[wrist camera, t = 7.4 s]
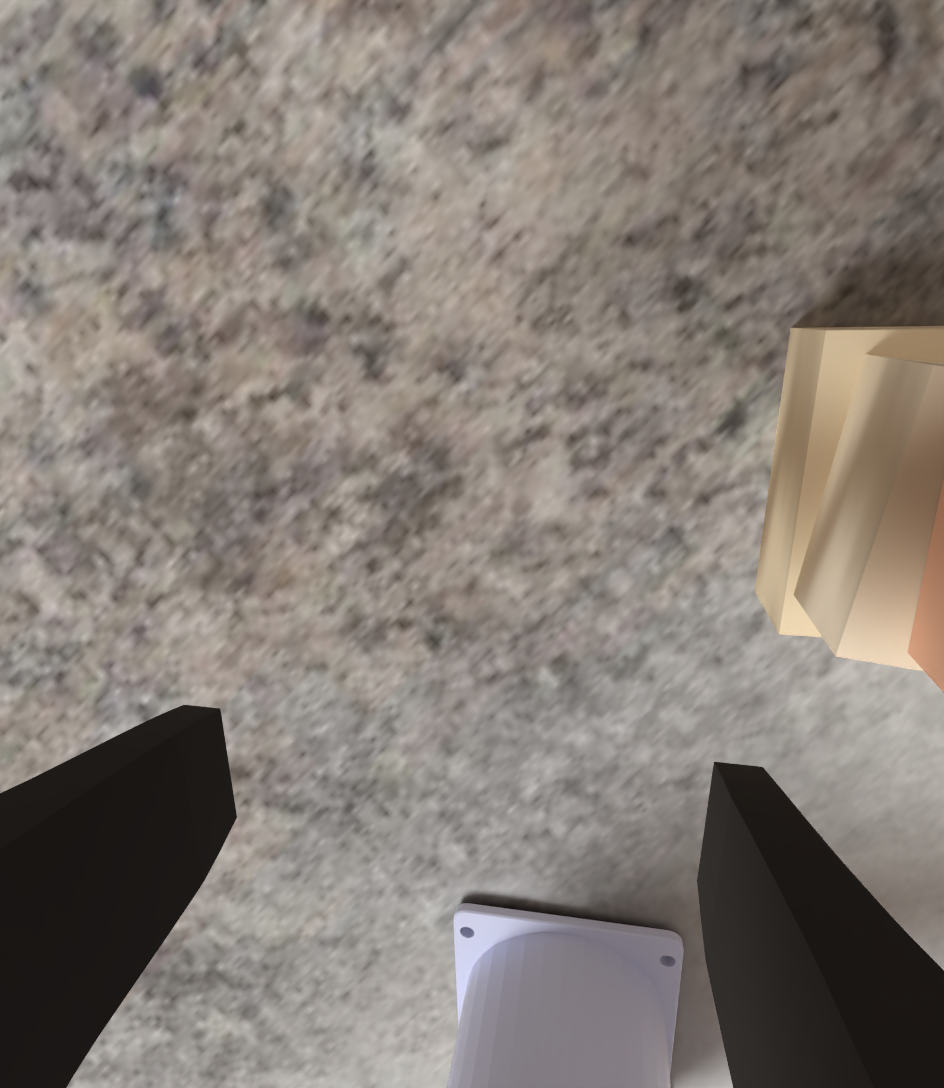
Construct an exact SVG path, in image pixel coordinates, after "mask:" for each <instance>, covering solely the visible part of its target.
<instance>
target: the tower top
mask: <svg viewBox="0 0 944 1088" xmlns="http://www.w3.org/2000/svg"><path fill="white" fill-rule="evenodd" d="M943 477H944V363H941V362H931V361H922V360H913V359H904V358H895V357H886V356H876V355H867V354H865V356H864V360H863V363H862V366H861V370H860V373H859V376H858V380H857V383H856V386H855V390H854V393H853V396H852V400H851V403H850V406H849V410H848V413H847V417H846V420H845V423H844V427H843V430H842V433H841V437H840V440H839V443H838V447H837V450H836V453H835V457H834V460H833V463H832V467H831V470H830V474H829V477H828V480H827V484H826V487H825V490H824V494H823V497H822V500H821V504H820V507H819V510H818V514H817V517H816V520H815V524H814V527H813V531H812V534H811V537H810V541H809V544H808V547H807V551H806V554H805V557H804V561H803V564H802V567H801V571H800V574H799V577H798V581H797V584H796V588H795V591H794V594H793V595H794V596H795V598H796V599H797V601H798V602H799V604H800V605H801V606H802V608H803V609H804V611H805V612H806V614H807V615H808V617H809V618H810V620H811V621H812V623H813V624H814V626H815V627H816V628H817V630H818V631H819V633H820V634H821V636H822V637H823V639H824V640H825V642H826V643H827V645H828V646H829V647H830V649H831V650H832V652H833V653H834V655H835V656H837V657H843V658H849V659H855V660H861V661H867V662H873V663H878V664H884V665H890V666H896V667H902V668H908V669H914V670H920V671H924V670H923V669H922V668H921V667H920V666H919V665H918V664H917V662H916V661H915V660H914V659H913V658H912V657H911V656H910V655H909V654H908V648H909V643H910V638H911V633H912V628H913V623H914V618H915V614H916V609H917V604H918V599H919V594H920V589H921V584H922V579H923V575H924V570H925V565H926V560H927V555H928V550H929V545H930V540H931V536H932V531H933V526H934V521H935V516H936V511H937V506H938V502H939V497H940V492H941V487H942V482H943Z"/></svg>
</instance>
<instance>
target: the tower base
mask: <svg viewBox="0 0 944 1088" xmlns="http://www.w3.org/2000/svg"><path fill="white" fill-rule="evenodd" d="M865 354H867V355H876V356H886V357H895V358H904V359H913V360H922V361H931V362H941V363H944V326H897V327H819V328H791V331H790V338H789V345H788V352H787V360H786V367H785V374H784V382H783V389H782V396H781V403H780V411H779V418H778V425H777V432H776V440H775V447H774V454H773V461H772V469H771V476H770V483H769V490H768V498H767V505H766V512H765V519H764V527H763V534H762V541H761V549H760V556H759V563H758V570H757V578H756V585H755V593H756V595H757V596H758V598H759V600H760V602H761V603H762V605H763V607H764V609H765V610H766V612H767V614H768V616H769V617H770V619H771V621H772V623H773V624H774V626H775V628H776V630H777V632H778V633H779V634H782V635H798V636H814V637H822V636H821V634H820V633H819V631H818V630H817V628H816V627H815V626H814V624H813V623H812V621H811V620H810V618H809V617H808V615H807V614H806V612H805V611H804V609H803V608H802V606H801V605H800V604H799V602H798V601H797V599H796V598H795V596H794V595H793V594H794V591H795V588H796V584H797V581H798V577H799V574H800V571H801V567H802V564H803V561H804V557H805V554H806V551H807V547H808V544H809V541H810V537H811V534H812V531H813V527H814V524H815V520H816V517H817V514H818V510H819V507H820V504H821V500H822V497H823V494H824V490H825V487H826V484H827V480H828V477H829V474H830V470H831V467H832V463H833V460H834V457H835V453H836V450H837V447H838V443H839V440H840V437H841V433H842V430H843V427H844V423H845V420H846V417H847V413H848V410H849V406H850V403H851V400H852V396H853V393H854V390H855V386H856V383H857V380H858V376H859V373H860V370H861V366H862V363H863V360H864V356H865Z"/></svg>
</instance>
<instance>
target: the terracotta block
mask: <svg viewBox="0 0 944 1088" xmlns="http://www.w3.org/2000/svg"><path fill="white" fill-rule="evenodd" d="M908 654H909V655H910V656H911V657H912V658H913V659H914V660H915V661H916V662H917V664H918V665H919V666H920V667H921V668H922V669H923V670H924V671H925V672H926V673H927V675H928V676H929V677H930V678H931V679H932V680H933V681H934V682H935V683H936V684H937V686H938V687H939V688H940V689H941V690H942V691H943V692H944V477H943V482H942V487H941V492H940V497H939V502H938V506H937V511H936V516H935V521H934V526H933V531H932V536H931V540H930V545H929V550H928V555H927V560H926V565H925V570H924V575H923V579H922V584H921V589H920V594H919V599H918V604H917V609H916V614H915V618H914V623H913V628H912V633H911V638H910V643H909V648H908Z"/></svg>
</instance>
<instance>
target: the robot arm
mask: <svg viewBox="0 0 944 1088" xmlns="http://www.w3.org/2000/svg"><path fill="white" fill-rule="evenodd" d="M236 818H237V815H236V809H235V802H234V795H233V789H232V782H231V776H230V769H229V763H228V756H227V750H226V743H225V737H224V730H223V724H222V717H221V711H220V709H218V708H209V707H199V706H190V705H183V706H180V707H178V708H175V709H173V710H170V711H168V712H166V713H163V714H161V715H159V716H157V717H155V718H153V719H150V720H148V721H146V722H144V723H142V724H140V725H138V726H136V727H134V728H132V729H130V730H128V731H126V732H124V733H122V734H120V735H118V736H116V737H114V738H112V739H110V740H108V741H106V742H104V743H102V744H100V745H98V746H96V747H94V748H92V749H90V750H88V751H86V752H84V753H82V754H80V755H78V756H76V757H74V758H72V759H70V760H68V761H66V762H64V763H62V764H60V765H58V766H56V767H54V768H52V769H50V770H48V771H46V772H44V773H42V774H40V775H38V776H36V777H34V778H32V779H30V780H28V781H26V782H24V783H21V784H19V785H17V786H15V787H13V788H11V789H9V790H7V791H4V792H2V793H0V1088H66V1087H67V1085H68V1084H69V1082H70V1080H71V1079H72V1077H73V1075H74V1074H75V1072H76V1071H77V1069H78V1067H79V1066H80V1064H81V1063H82V1061H83V1060H84V1058H85V1056H86V1055H87V1053H88V1052H89V1050H90V1049H91V1047H92V1045H93V1044H94V1042H95V1041H96V1039H97V1038H98V1036H99V1035H100V1033H101V1032H102V1030H103V1029H104V1027H105V1026H106V1024H107V1023H108V1022H109V1020H110V1019H111V1017H112V1016H113V1014H114V1013H115V1011H116V1010H117V1008H118V1007H119V1006H120V1004H121V1003H122V1001H123V1000H124V998H125V997H126V995H127V994H128V992H129V991H130V990H131V988H132V987H133V985H134V984H135V982H136V981H137V979H138V978H139V976H140V975H141V973H142V972H143V971H144V969H145V968H146V966H147V965H148V963H149V962H150V960H151V959H152V957H153V956H154V955H155V953H156V952H157V950H158V949H159V947H160V946H161V944H162V943H163V941H164V940H165V939H166V937H167V936H168V934H169V933H170V931H171V930H172V928H173V927H174V925H175V924H176V922H177V921H178V919H179V918H180V916H181V915H182V913H183V912H184V910H185V909H186V908H187V906H188V905H189V903H190V902H191V900H192V899H193V897H194V896H195V894H196V893H197V891H198V889H199V888H200V886H201V885H202V883H203V882H204V880H205V878H206V876H207V875H208V873H209V871H210V869H211V867H212V865H213V863H214V862H215V860H216V858H217V856H218V854H219V852H220V850H221V848H222V846H223V844H224V842H225V840H226V838H227V836H228V834H229V832H230V830H231V828H232V826H233V824H234V822H235V820H236ZM697 883H698V893H699V903H700V913H701V923H702V931H703V940H704V949H705V957H706V963H707V968H708V973H709V978H710V983H711V987H712V992H713V997H714V1001H715V1006H716V1011H717V1015H718V1020H719V1024H720V1029H721V1034H722V1038H723V1043H724V1047H725V1052H726V1056H727V1061H728V1066H729V1070H730V1075H731V1079H732V1084H733V1088H944V970H943V969H942V968H941V967H940V966H939V965H938V964H937V963H936V962H935V961H934V960H933V959H932V958H931V957H930V956H929V955H928V954H927V953H926V952H925V951H924V950H923V949H922V948H921V947H920V946H919V945H918V944H917V943H916V942H915V941H914V940H913V939H912V938H911V937H910V936H909V935H908V934H907V933H906V932H905V931H904V929H903V928H902V927H901V926H900V925H899V924H898V923H897V922H896V921H895V920H894V919H893V918H892V917H891V916H890V915H889V913H888V912H887V911H886V910H885V909H884V908H883V907H882V906H881V904H880V903H879V902H878V901H877V900H876V899H875V898H874V897H873V896H872V894H871V893H870V892H869V891H868V890H867V889H866V888H865V887H864V886H863V884H862V883H861V882H860V881H859V880H858V879H857V878H856V877H855V876H854V874H853V873H852V872H851V871H850V870H849V869H848V868H847V867H846V865H845V864H844V863H843V862H842V861H841V860H840V858H839V857H838V856H837V855H836V854H835V853H834V852H833V850H832V849H831V848H830V847H829V846H828V844H827V843H826V842H825V841H824V840H823V839H822V837H821V836H820V835H819V834H818V833H817V831H816V830H815V829H814V828H813V827H812V826H811V824H810V823H809V822H808V821H807V820H806V818H805V817H804V816H803V815H802V814H801V812H800V811H799V810H798V809H797V808H796V806H795V805H794V804H793V803H792V801H791V800H790V799H789V798H788V797H787V795H786V794H785V793H784V792H783V791H782V789H781V788H780V787H779V786H778V785H777V783H776V782H775V781H774V780H773V779H772V778H771V776H770V775H769V774H768V773H767V772H766V771H765V769H764V768H763V767H757V766H748V765H739V764H729V763H720V762H714V766H713V773H712V780H711V787H710V794H709V801H708V808H707V815H706V823H705V830H704V837H703V844H702V851H701V858H700V865H699V872H698V879H697ZM453 921H454V942H455V964H456V985H457V1007H458V1033H457V1038H456V1043H455V1048H454V1053H453V1058H452V1063H451V1068H450V1073H449V1078H448V1084H447V1088H671V1084H670V1072H671V1063H672V1053H673V1044H674V1035H675V1026H676V1017H677V1008H678V999H679V990H680V981H681V972H682V962H683V953H684V950H683V942H682V938H681V937H680V936H679V935H678V934H677V933H675V932H673V931H669V930H662V929H655V928H648V927H640V926H633V925H626V924H618V923H611V922H603V921H596V920H589V919H581V918H574V917H567V916H559V915H552V914H544V913H537V912H530V911H522V910H515V909H508V908H500V907H493V906H485V905H478V904H471V903H463V904H460V905H458V906H457V907H456V910H455V914H454V919H453ZM467 927H469V928H467Z"/></svg>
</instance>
